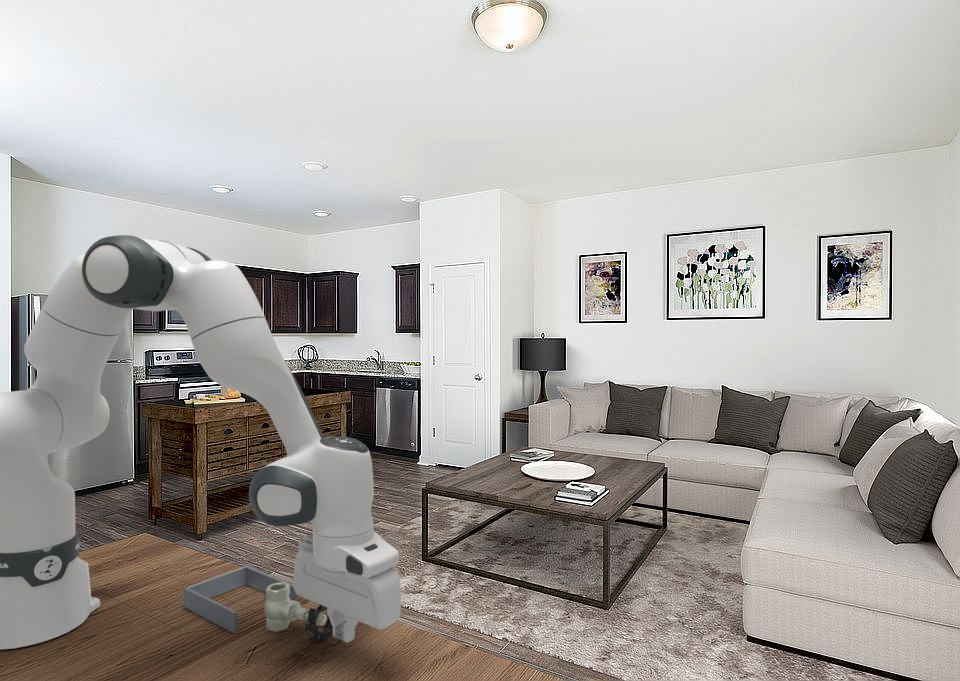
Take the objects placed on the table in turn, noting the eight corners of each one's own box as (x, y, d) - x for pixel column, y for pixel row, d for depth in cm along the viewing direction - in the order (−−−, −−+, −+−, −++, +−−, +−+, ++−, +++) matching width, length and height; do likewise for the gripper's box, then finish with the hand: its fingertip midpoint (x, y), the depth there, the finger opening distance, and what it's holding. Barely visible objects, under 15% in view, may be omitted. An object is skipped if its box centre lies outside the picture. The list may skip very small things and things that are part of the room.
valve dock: (183, 607, 102) (183, 588, 102) (246, 582, 112) (246, 565, 112) (234, 633, 93) (234, 613, 93) (297, 604, 103) (297, 586, 103)
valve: (253, 632, 94) (309, 651, 88) (252, 592, 94) (309, 608, 88) (284, 615, 100) (338, 631, 94) (283, 576, 100) (338, 590, 94)
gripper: (282, 538, 90) (283, 626, 91) (376, 569, 78) (376, 671, 79) (315, 527, 96) (315, 610, 96) (408, 555, 84) (407, 650, 84)
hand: (343, 638), depth 87 cm, fingers closed
